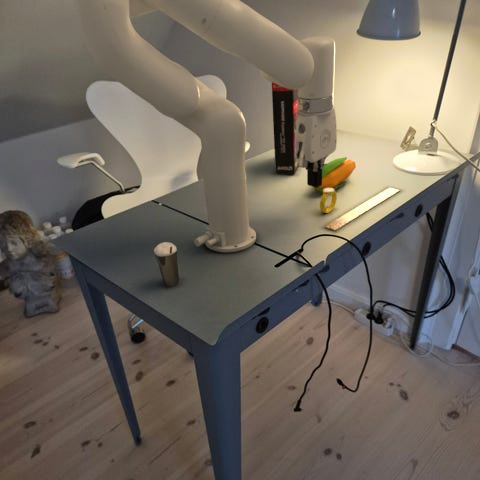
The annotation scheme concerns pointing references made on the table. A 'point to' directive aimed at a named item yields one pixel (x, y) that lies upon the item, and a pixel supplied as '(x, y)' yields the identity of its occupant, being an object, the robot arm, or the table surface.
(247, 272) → the table surface
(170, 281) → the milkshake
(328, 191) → the watch
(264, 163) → the table surface
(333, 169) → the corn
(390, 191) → the ruler
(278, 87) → the graphics card box
